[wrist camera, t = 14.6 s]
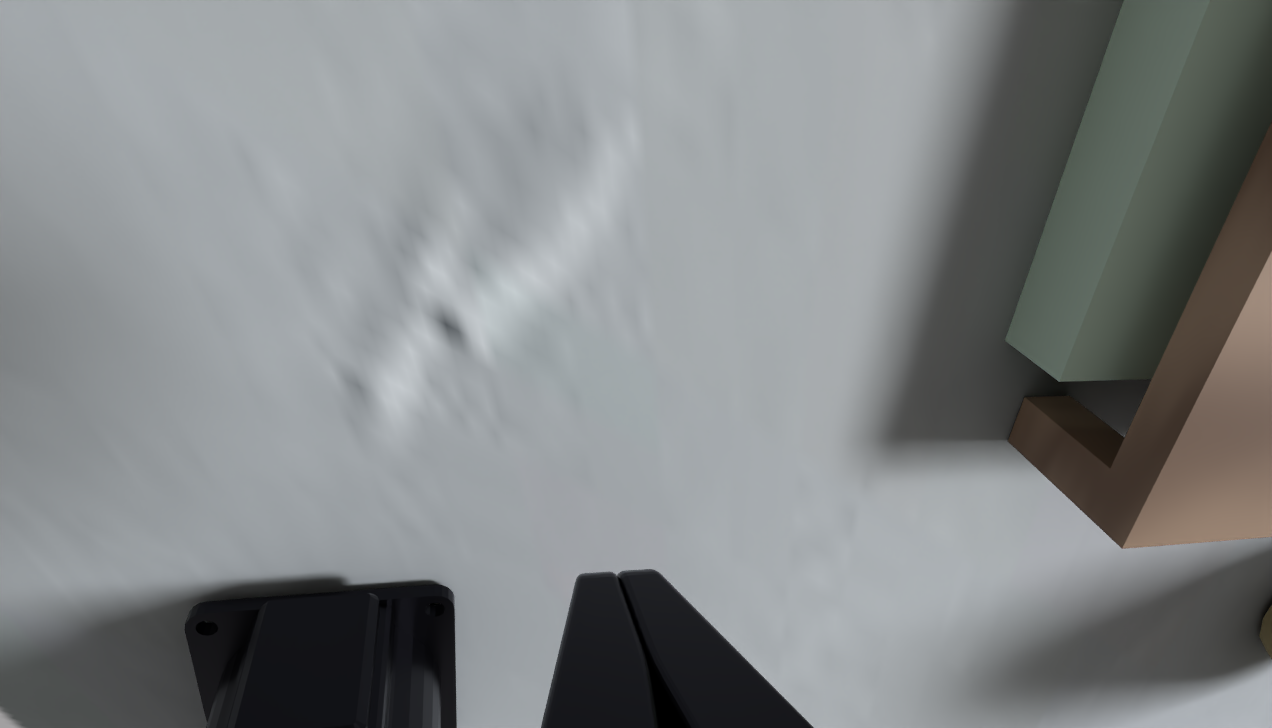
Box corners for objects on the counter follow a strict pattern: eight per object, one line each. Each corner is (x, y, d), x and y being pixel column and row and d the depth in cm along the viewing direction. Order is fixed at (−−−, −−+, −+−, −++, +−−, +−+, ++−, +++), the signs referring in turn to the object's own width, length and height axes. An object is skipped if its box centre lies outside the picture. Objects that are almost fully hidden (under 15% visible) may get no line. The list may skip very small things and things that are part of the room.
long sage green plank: (1148, 332, 23) (1224, 377, 21) (996, 334, 22) (1059, 381, 19) (1369, -168, 17) (1507, -180, 15) (1177, -200, 16) (1296, -219, 14)
